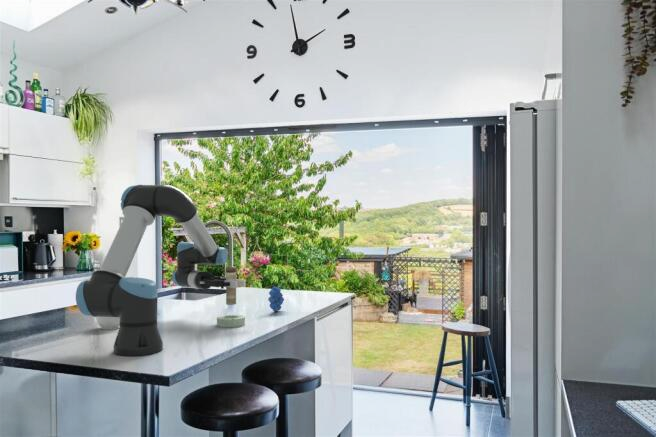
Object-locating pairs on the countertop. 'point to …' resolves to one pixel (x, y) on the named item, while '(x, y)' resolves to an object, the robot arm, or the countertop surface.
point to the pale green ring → (231, 320)
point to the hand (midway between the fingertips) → (240, 284)
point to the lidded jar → (108, 322)
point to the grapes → (275, 298)
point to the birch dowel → (231, 291)
